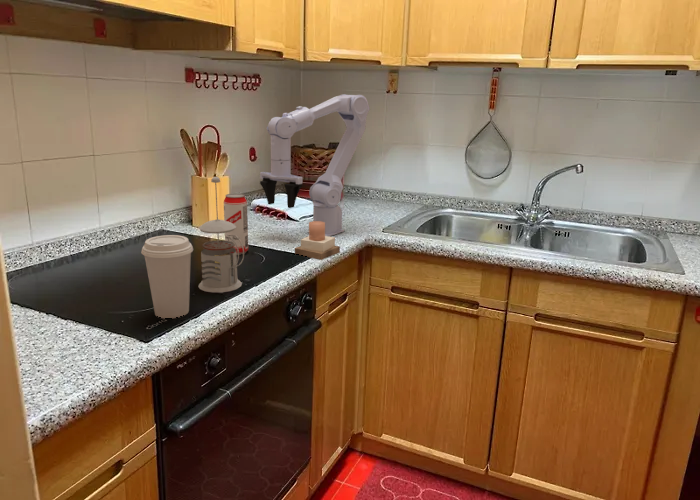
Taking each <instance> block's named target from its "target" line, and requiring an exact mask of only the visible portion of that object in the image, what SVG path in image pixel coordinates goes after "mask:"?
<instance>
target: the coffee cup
mask: <svg viewBox="0 0 700 500" xmlns="http://www.w3.org/2000/svg"><path fill="white" fill-rule="evenodd" d="M193 251H194V247H193V245H192V243H191V242H190V241H189V238H188V237H187V236H183V235H177V234H166V235H157V236H153V237H150V238H147V239H146V240H145V242H144V245H143V246H142V248H141V252H140V253H141V255H143V256H144V260H145V266H146V271H147V276H148V282H149V288H150V294H151V299H152V304H153V305H152V306H153V311H154V315H155V316H156V317H157V316H158V317H157V318H159V317H161V318H160V319H165V318H172V319H177V318H176V317H178V318H181V317H180V316H182V317H184V316H186V315H187V314H188V313H189V311H190V293H191V292H190V288H191V287H190V283H191V261H192V260H191V257H192V253H193ZM183 315H184V316H183Z"/></svg>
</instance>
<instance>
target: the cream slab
mask: <svg viewBox="0 0 700 500" xmlns="http://www.w3.org/2000/svg"><path fill="white" fill-rule="evenodd" d="M300 246H301V249H307V250H314V251H320V252H324V251H326V250H328V249H330V248H332V247H334V246H336V237H335V236H325V240H322V241H312V240H310V239H309V235H308V236H307V237H304V238H302V239H300Z"/></svg>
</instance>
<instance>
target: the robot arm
mask: <svg viewBox="0 0 700 500" xmlns="http://www.w3.org/2000/svg"><path fill="white" fill-rule="evenodd" d="M370 110H371V108H370V106H369V102H368V99H367V97H366V96H365V95H363V94H345V93H343V94H340V95H337V96H334V97H332V98H329V99H328V100H325V101H322V102H321V103H320V104H317V105H314V106H313V107H311V108H309V107H307V106H302V105H299V106H296V107H295V110H293V111H290V112H283V113H282V116H281V117H280V116H273V117H272V118H271V119H270V121H269V122H268V124H267V126H266V131H267V133H268V134H269V136H270V172H269V171H268V172H267V171H261V172H259V180H260V181H259V184H260V186H261V187H262V189H263V191H264V194H265V198H266V200H267V201H266V202H267V204H268V205H274V204H275V202H276V201H275V200H276V197H275V196H276V187H277V183H278V182H284V183H285V184H284V187H285V191H286V197H287V198H286V199H287V201H286V202H287V208H288V209H291V208H295V205H296V201H297V196H298V195H299V192H300V190H301V189H302V187H303V176H299V175H294V174H291V173H292V172H291V171H292V170H291V163H292V162H291V161H292V159H291V158H292V157H291V156H292V154H291V151H292V149H291V148H292V147H291V146H292V145H291V141H292V139H291V138H292V137H293V136H294V134H295V133H297V132H300V131H302V130H305V129H306V128H308V127H311V126H313V124H314V121H315V120H317V119H319V118H321V117H324V116H327V115H329V114H333V113H335V112H337V114H338V116H339V117H340V118H341V119H342V121H343V122H344V124H345V127H346V128H345V131H344V133H343V135H342V137H341V139H340V141H339V143H338V146H337V147H336V149H335V152H334V154H333V156H332V158H331V160H330V162H329V164H328V167H327V168H326V170H325V172H324V173H323V174H321V175H320V176H319V177H317V180H316V181H315V182H314V183H313V184H312V185H311V186H310V188H309V192H308V193H309V197H310V200H311V201H312V204H313V212H312V213H313V219H312V220H313V221H322V222H325V236H329V237H333V236H335V235H338V234H341V233H343V232H344V231H345V230H344V229H342V228H343V227H342V226H343V225H342V224H343V223H342V222H343V217H342V216H343V211H342V209H341V206H340V205H338V204H339V203H340V201H341V198H342V191H343V189H344V186H343V182H342V179H343V178H344V176H345V173H346V171H347V169H348V166H350V162H351V160H352V159H353V156H354V154H355V152H356V150H357V148H358V146H359V144H360V142H361V140H362V137H363V136H364V134H365V131H366V124H367V116H368V114H369V112H370ZM307 234H309V230H308V231H307Z"/></svg>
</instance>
